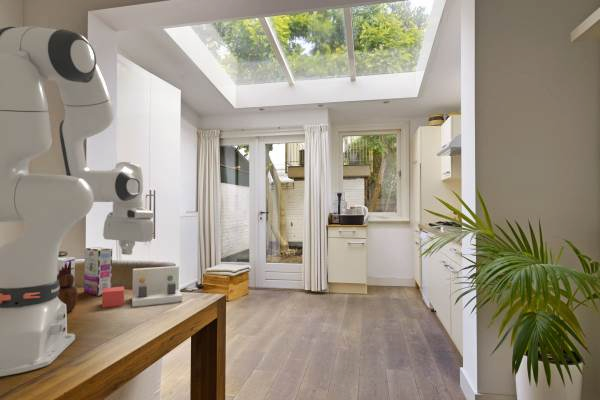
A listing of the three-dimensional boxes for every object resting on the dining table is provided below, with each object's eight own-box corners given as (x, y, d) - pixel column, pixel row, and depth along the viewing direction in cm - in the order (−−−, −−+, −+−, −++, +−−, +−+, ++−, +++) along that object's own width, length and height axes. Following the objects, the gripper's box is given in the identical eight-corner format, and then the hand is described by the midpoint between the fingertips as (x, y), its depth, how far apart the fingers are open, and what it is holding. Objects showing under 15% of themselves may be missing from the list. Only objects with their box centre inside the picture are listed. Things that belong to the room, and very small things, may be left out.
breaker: (146, 301, 113) (146, 286, 113) (138, 302, 112) (138, 287, 112) (146, 300, 115) (146, 285, 115) (138, 300, 114) (138, 285, 114)
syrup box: (75, 299, 116) (76, 256, 117) (61, 304, 110) (62, 259, 111) (59, 298, 117) (60, 256, 117) (45, 303, 111) (46, 258, 111)
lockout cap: (123, 305, 109) (123, 290, 110) (102, 307, 107) (102, 292, 107) (124, 300, 115) (124, 286, 115) (103, 302, 112) (103, 288, 112)
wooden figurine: (72, 307, 107) (73, 259, 107) (80, 310, 104) (81, 261, 104) (46, 312, 101) (47, 262, 102) (54, 316, 98) (55, 264, 98)
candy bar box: (112, 293, 124) (113, 248, 125) (97, 296, 120) (98, 249, 120) (97, 289, 130) (98, 246, 131) (83, 291, 126) (84, 247, 127)
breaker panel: (182, 301, 114) (182, 271, 115) (132, 306, 108) (132, 275, 108) (177, 293, 125) (178, 265, 125) (132, 297, 119) (132, 268, 119)
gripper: (98, 212, 114) (97, 253, 114) (140, 212, 105) (139, 257, 105) (115, 211, 120) (115, 251, 120) (157, 212, 111) (156, 255, 111)
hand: (126, 254), depth 112 cm, fingers closed
